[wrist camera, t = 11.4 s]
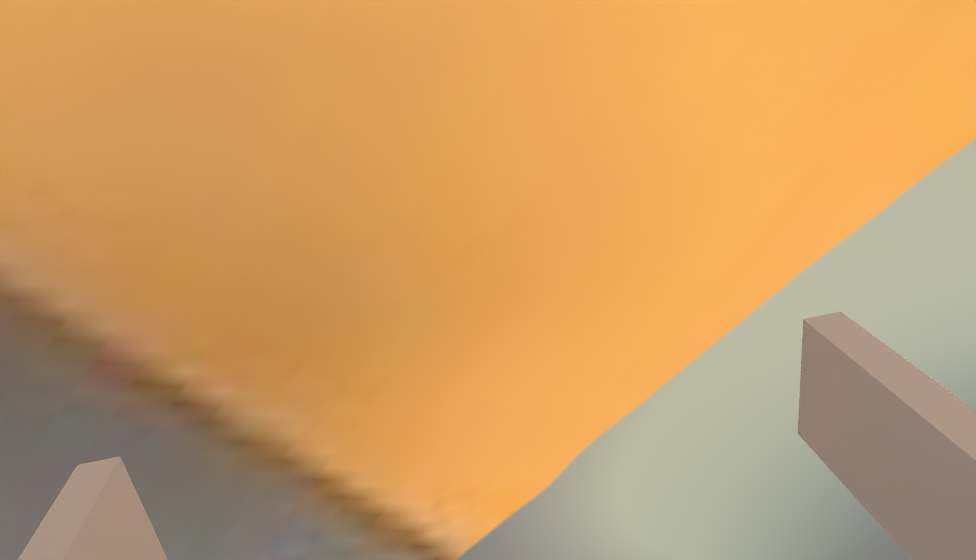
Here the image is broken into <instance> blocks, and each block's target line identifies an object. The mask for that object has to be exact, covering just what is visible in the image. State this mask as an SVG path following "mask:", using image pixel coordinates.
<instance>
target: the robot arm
mask: <svg viewBox="0 0 976 560" xmlns="http://www.w3.org/2000/svg"><path fill="white" fill-rule="evenodd" d="M798 434H799V435H800V436H801V438H802V439H803V440H804V441H805V442H806V443H807V444H808V445H809V446H810V448H812V450H813V451H814V452H815V453H816V454H817V455H818V456H819V457H820V459H821V460H822V461H823V462H824V463H825V464H826V465H827V466H828V468H829V469H830V470H831V471H832V472H833V473H834V474H835V475H836V476H837V478H838V479H839V480H840V481H841V482H842V483H843V484H844V485H845V486H846V487H847V489H848V490H849V491H850V492H851V493H852V494H853V495H854V496H855V497H856V499H857V500H858V501H859V502H860V503H861V504H862V505H863V506H864V507H865V509H866V510H867V511H868V512H869V513H870V514H871V515H872V516H873V517H874V518H875V520H876V521H877V522H878V523H879V524H880V525H881V526H882V527H883V528H884V530H885V531H886V532H887V533H888V534H889V535H890V536H891V537H892V538H893V540H894V541H895V542H896V543H897V544H898V545H899V546H900V547H901V548H902V550H903V551H904V552H905V553H906V554H907V555H908V556H909V557H910V558H911V560H976V411H975V410H973V409H972V408H971V407H969V406H968V405H967V404H965V403H964V402H963V401H961V400H960V399H958V398H957V397H956V396H954V395H953V394H952V393H950V392H949V391H948V390H946V389H945V388H943V387H942V386H941V385H939V384H938V383H937V382H935V381H934V380H933V379H931V378H930V377H929V376H927V375H926V374H925V373H923V372H922V371H920V370H919V369H917V368H916V367H915V366H914V365H912V364H911V363H910V362H908V361H907V360H906V359H904V358H903V357H901V356H900V355H899V354H897V353H896V352H895V351H893V350H892V349H891V348H889V347H888V346H887V345H885V344H884V343H882V342H881V341H880V340H878V339H877V338H876V337H874V336H873V335H872V334H870V333H869V332H868V331H866V330H865V329H863V328H862V327H861V326H859V325H858V324H857V323H855V322H854V321H853V320H851V319H850V318H849V317H847V316H846V315H844V314H843V313H842V312H837V313H832V314H827V315H822V316H817V317H812V318H807V319H804V320H803V337H802V359H801V378H800V399H799V420H798ZM18 560H168V559H167V557H166V555H165V553H164V551H163V549H162V546H161V544H160V542H159V540H158V538H157V535H156V533H155V531H154V529H153V527H152V525H151V522H150V520H149V518H148V516H147V514H146V512H145V509H144V507H143V505H142V503H141V501H140V499H139V496H138V494H137V492H136V490H135V488H134V485H133V483H132V481H131V479H130V477H129V475H128V472H127V470H126V468H125V466H124V464H123V462H122V459H121V457H120V456H119V457H115V458H110V459H105V460H100V461H95V462H90V463H85V464H80V465H77V467H76V468H75V470H74V471H73V473H72V474H71V476H70V478H69V479H68V481H67V482H66V484H65V486H64V487H63V489H62V490H61V492H60V493H59V495H58V497H57V498H56V500H55V501H54V503H53V505H52V506H51V508H50V509H49V511H48V512H47V514H46V516H45V517H44V519H43V520H42V522H41V524H40V525H39V527H38V528H37V530H36V532H35V533H34V535H33V536H32V538H31V539H30V541H29V543H28V544H27V546H26V547H25V549H24V551H23V552H22V554H21V555H20V557H19V558H18Z"/></svg>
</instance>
